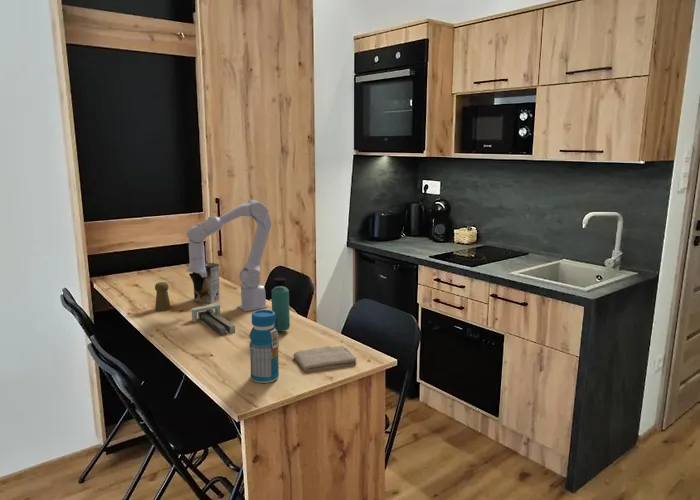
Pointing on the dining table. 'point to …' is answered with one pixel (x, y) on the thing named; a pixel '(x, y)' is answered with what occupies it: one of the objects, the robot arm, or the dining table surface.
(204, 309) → the pale green notched block
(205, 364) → the dining table surface
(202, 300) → the coffee box
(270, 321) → the beverage bottle
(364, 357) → the dining table surface
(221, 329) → the tong base
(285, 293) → the beverage bottle
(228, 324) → the tong arm
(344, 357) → the washcloth
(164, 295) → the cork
